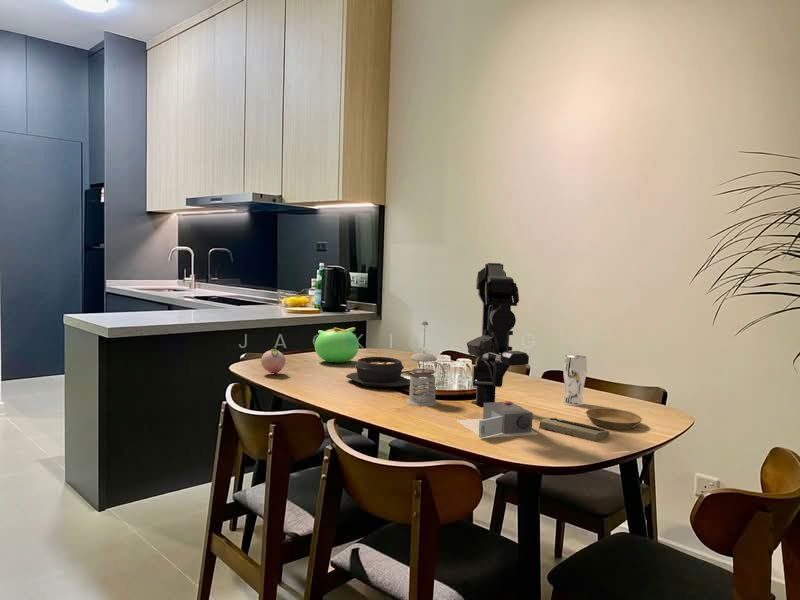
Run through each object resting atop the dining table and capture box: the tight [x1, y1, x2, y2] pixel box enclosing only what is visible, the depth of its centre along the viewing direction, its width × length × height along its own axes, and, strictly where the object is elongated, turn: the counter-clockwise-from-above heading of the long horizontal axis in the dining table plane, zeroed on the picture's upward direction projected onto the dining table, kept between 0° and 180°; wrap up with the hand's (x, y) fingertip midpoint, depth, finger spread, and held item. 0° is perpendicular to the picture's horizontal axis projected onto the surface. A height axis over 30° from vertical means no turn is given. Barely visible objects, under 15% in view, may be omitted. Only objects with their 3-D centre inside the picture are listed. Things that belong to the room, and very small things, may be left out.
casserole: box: [345, 356, 410, 388], centre depth 204 cm, size 25×19×8 cm
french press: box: [405, 320, 446, 407], centre depth 180 cm, size 10×12×25 cm
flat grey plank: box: [538, 417, 610, 443], centre depth 153 cm, size 16×8×3 cm, turn 49°
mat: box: [456, 418, 539, 439], centre depth 156 cm, size 16×16×1 cm
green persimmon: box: [314, 326, 360, 364], centre depth 243 cm, size 18×17×15 cm
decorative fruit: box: [260, 347, 286, 374], centre depth 214 cm, size 9×8×10 cm
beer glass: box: [562, 354, 588, 407], centre depth 185 cm, size 7×7×15 cm
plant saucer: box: [585, 407, 643, 430], centre depth 164 cm, size 15×15×3 cm
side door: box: [478, 416, 504, 439], centre depth 147 cm, size 8×1×4 cm, turn 129°
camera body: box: [482, 400, 533, 434], centre depth 156 cm, size 13×8×6 cm, turn 18°
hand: (495, 385), depth 154 cm, fingers closed
